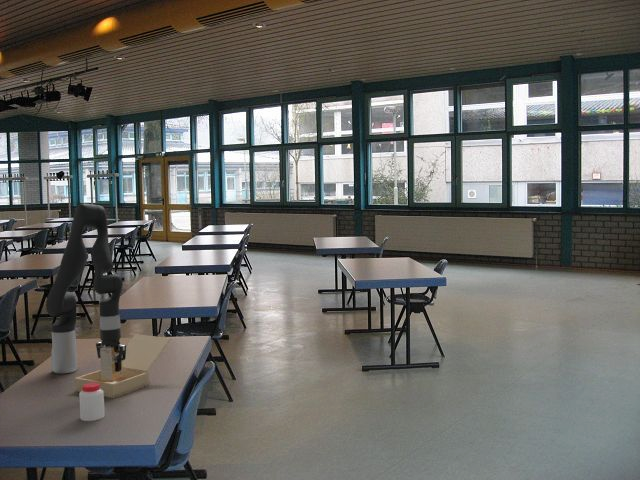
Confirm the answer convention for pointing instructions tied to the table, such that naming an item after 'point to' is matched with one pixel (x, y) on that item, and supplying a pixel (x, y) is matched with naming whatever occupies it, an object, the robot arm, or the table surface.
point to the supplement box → (109, 365)
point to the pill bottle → (91, 402)
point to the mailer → (115, 382)
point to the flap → (143, 351)
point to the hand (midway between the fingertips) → (112, 370)
